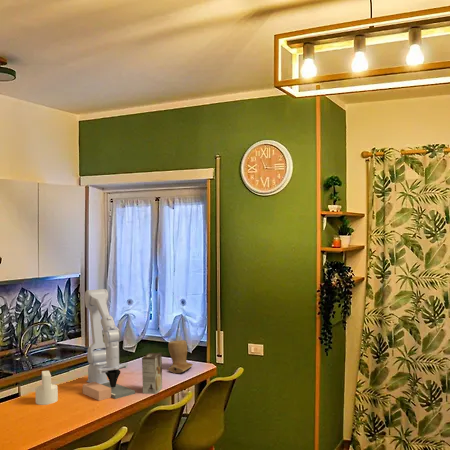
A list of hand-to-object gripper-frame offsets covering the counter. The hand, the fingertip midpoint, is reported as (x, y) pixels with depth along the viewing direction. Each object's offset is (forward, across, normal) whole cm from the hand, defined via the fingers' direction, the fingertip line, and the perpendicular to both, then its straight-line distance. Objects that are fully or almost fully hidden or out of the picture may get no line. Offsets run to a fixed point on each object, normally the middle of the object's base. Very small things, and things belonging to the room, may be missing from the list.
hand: (113, 386), depth 246 cm
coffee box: (+2, +13, -12) cm, 18 cm away
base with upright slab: (+2, -27, +9) cm, 29 cm away
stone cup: (+2, +43, +7) cm, 44 cm away
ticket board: (+2, 0, 0) cm, 2 cm away
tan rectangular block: (+2, -8, 0) cm, 8 cm away
